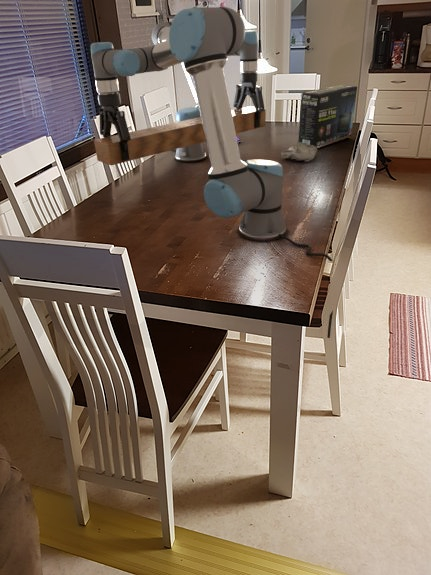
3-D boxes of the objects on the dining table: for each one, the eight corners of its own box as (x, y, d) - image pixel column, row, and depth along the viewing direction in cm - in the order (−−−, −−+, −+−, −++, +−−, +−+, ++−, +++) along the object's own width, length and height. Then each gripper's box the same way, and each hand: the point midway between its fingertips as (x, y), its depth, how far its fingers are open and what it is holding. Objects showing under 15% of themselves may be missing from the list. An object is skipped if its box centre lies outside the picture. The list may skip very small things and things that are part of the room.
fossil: (311, 156, 210) (288, 135, 213) (297, 175, 216) (275, 154, 219) (325, 153, 223) (304, 133, 226) (312, 171, 230) (290, 152, 233)
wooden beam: (111, 165, 164) (107, 144, 160) (97, 160, 170) (93, 139, 166) (265, 126, 209) (265, 108, 205) (250, 123, 215) (250, 106, 212)
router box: (314, 151, 231) (318, 94, 217) (296, 148, 237) (299, 92, 224) (352, 138, 251) (358, 85, 238) (335, 135, 258) (340, 83, 245)
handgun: (220, 136, 265) (220, 133, 264) (233, 135, 266) (233, 132, 265) (227, 145, 248) (227, 141, 247) (241, 143, 249) (241, 140, 248)
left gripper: (274, 72, 192) (272, 127, 203) (236, 69, 206) (237, 120, 218) (261, 74, 188) (260, 130, 199) (224, 71, 202) (225, 123, 214)
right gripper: (135, 94, 153) (143, 160, 165) (101, 89, 168) (111, 150, 179) (116, 97, 149) (125, 165, 161) (83, 91, 164) (94, 154, 175)
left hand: (248, 125), depth 209 cm, fingers closed on wooden beam, 10 cm apart
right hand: (118, 157), depth 170 cm, fingers closed on wooden beam, 10 cm apart
